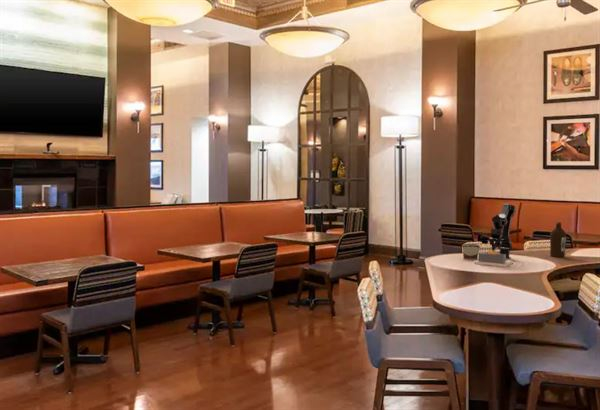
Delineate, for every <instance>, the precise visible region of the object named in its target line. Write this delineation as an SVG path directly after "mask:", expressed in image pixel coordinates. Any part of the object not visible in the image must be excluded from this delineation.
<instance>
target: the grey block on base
mask: <svg viewBox="0 0 600 410" xmlns="http://www.w3.org/2000/svg"><path fill="white" fill-rule="evenodd" d="M513 263H514V261H513V260H510V259H509V260H508V259H506V254H500V253H497V254H488V252H486V251H485V252H484V251H481V252H478V259H476V260H475V261H474V264H476V265H484V266H493V267H494V266H495V267H503V266H504V268H505V267H508V266H510V265H511V264H513Z"/></svg>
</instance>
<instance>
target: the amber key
mask: <svg viewBox="0 0 600 410" xmlns="http://www.w3.org/2000/svg"><path fill="white" fill-rule="evenodd" d="M487 253H488V254H498V251H497V250H494V251H492V249H490V250H487Z"/></svg>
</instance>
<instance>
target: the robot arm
mask: <svg viewBox="0 0 600 410" xmlns="http://www.w3.org/2000/svg"><path fill="white" fill-rule="evenodd" d="M516 211H517V207H516V206H515V205H512V204H510V203H503V205H502V208H501V211H500V213H499V214H495V216H493V217H492V218H491V221H492V226H493V228H490V237H488V235H480V242H481V243H482V244H485V245H487V244H489V246H491V250H492V251H496V249H498V250H499V254H506V260H508V259H512V257H511V256H510V251H512V250H513V244H512V242H511V238H510V231H511V223H512V218H513V217H514V216H515V213H516Z"/></svg>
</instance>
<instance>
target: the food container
mask: <svg viewBox="0 0 600 410" xmlns="http://www.w3.org/2000/svg"><path fill="white" fill-rule="evenodd" d="M461 248H462V254H463V255H462V256H463V260H478V256H479V253H480V252H479V250H480V248H481V246H480V244H477V243H463V244H462V245H461Z"/></svg>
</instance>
